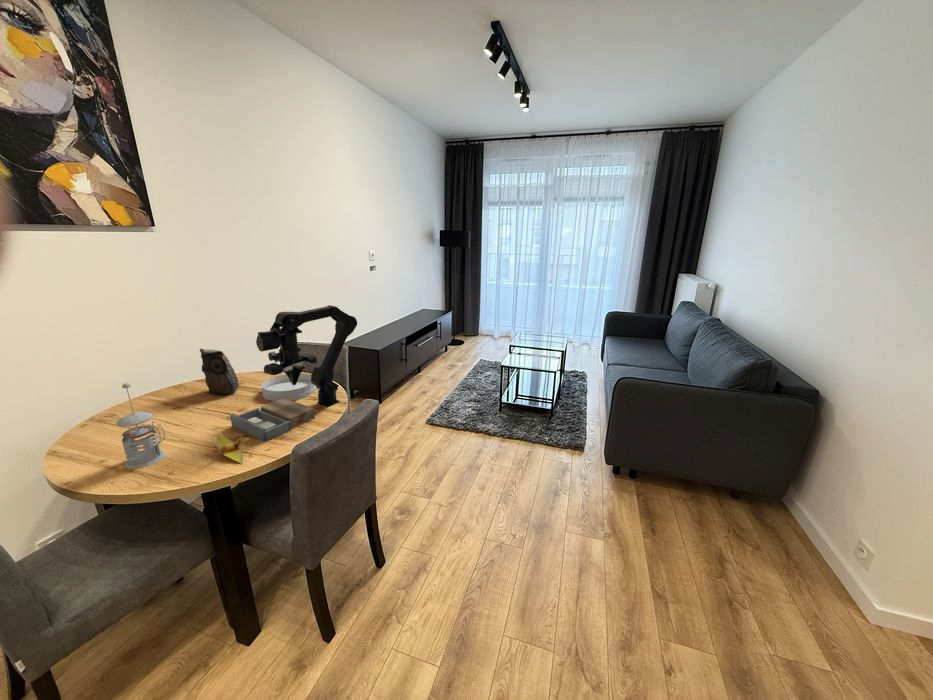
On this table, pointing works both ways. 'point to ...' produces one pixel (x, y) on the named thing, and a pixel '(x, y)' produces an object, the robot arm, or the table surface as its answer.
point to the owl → (218, 373)
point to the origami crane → (230, 448)
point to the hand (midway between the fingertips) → (294, 384)
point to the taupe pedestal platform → (290, 411)
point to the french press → (129, 443)
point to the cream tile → (256, 420)
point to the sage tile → (267, 425)
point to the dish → (287, 388)
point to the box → (259, 431)
